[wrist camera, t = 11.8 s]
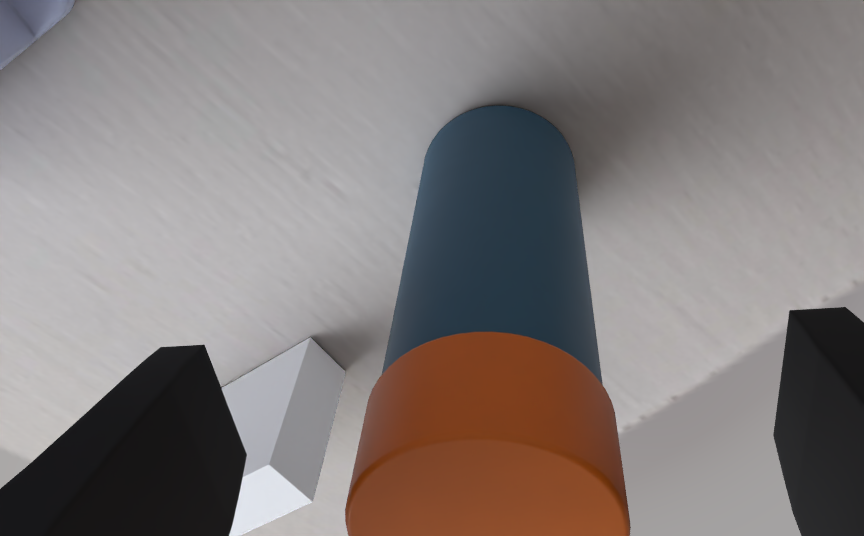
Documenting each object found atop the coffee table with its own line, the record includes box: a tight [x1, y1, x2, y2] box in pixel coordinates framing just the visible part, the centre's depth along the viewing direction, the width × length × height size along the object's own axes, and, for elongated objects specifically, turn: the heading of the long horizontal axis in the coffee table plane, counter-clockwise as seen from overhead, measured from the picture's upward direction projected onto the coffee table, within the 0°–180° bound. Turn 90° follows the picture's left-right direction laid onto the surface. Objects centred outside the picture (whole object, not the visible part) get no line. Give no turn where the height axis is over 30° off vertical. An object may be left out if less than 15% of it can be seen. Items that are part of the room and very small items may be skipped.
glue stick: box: [345, 106, 630, 536], centre depth 12 cm, size 3×3×8 cm
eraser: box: [221, 337, 346, 536], centre depth 17 cm, size 1×5×4 cm, turn 127°
